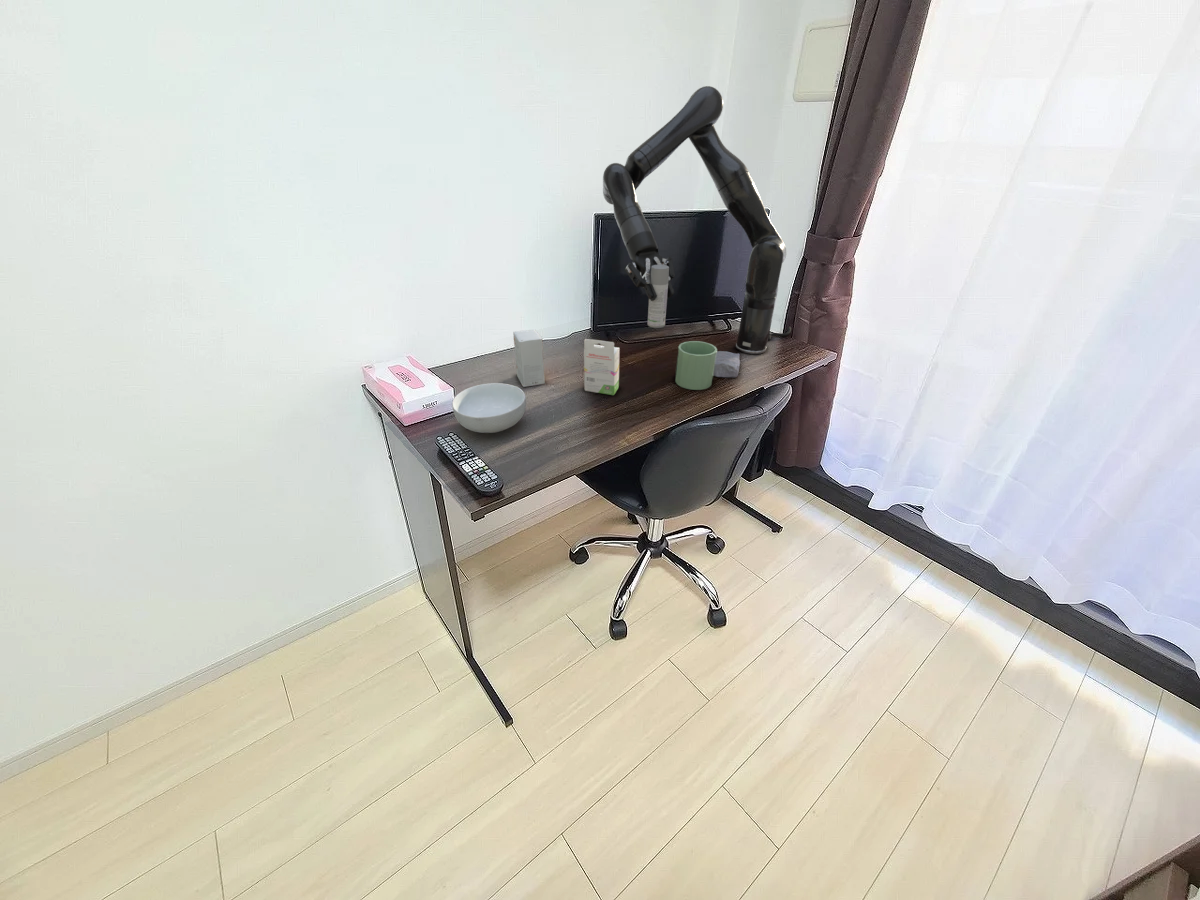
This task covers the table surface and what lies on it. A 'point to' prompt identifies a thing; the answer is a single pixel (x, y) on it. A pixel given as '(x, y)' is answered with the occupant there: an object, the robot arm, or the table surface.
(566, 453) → the table surface
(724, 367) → the stone block
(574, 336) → the table surface
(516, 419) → the cereal bowl
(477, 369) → the table surface
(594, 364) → the ink box
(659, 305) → the container
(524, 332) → the small box
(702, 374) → the pen cup
